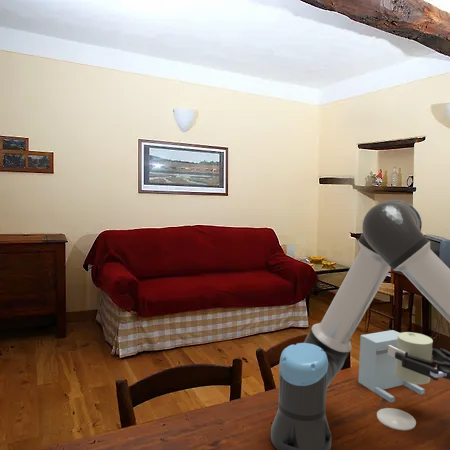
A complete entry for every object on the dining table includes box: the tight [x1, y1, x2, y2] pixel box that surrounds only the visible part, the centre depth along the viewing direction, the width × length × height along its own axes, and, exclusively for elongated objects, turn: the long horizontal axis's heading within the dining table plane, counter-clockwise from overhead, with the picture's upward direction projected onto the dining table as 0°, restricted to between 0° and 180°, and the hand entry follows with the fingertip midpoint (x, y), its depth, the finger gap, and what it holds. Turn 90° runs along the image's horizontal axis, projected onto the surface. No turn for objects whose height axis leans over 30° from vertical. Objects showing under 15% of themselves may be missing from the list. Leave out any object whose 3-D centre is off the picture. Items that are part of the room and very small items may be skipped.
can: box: [395, 331, 434, 386], centre depth 116 cm, size 9×9×12 cm
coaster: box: [376, 407, 417, 432], centre depth 114 cm, size 10×10×1 cm
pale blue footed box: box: [357, 329, 426, 403], centre depth 132 cm, size 14×14×16 cm
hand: (400, 347), depth 120 cm, fingers closed on can, 9 cm apart
